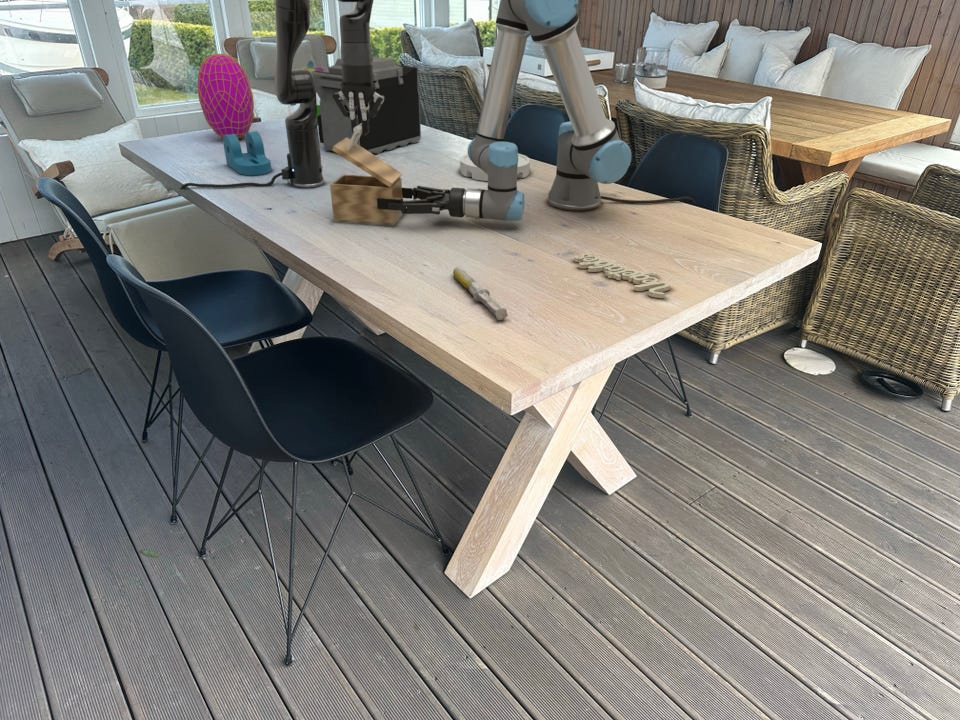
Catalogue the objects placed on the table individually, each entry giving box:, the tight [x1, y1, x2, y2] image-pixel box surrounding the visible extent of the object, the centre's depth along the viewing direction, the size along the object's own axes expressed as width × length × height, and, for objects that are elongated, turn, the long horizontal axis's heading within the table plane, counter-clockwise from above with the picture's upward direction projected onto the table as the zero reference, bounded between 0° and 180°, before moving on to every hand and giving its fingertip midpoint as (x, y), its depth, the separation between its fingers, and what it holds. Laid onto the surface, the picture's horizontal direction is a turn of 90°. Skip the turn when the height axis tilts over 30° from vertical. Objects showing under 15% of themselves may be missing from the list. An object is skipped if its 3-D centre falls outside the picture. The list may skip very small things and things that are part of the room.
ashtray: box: [459, 153, 531, 182], centre depth 228 cm, size 23×23×4 cm
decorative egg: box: [197, 53, 255, 140], centre depth 258 cm, size 19×19×30 cm
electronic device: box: [311, 56, 422, 155], centre depth 250 cm, size 37×22×30 cm, turn 144°
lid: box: [332, 123, 403, 187], centre depth 178 cm, size 17×10×8 cm
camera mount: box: [222, 131, 272, 176], centre depth 226 cm, size 18×10×10 cm, turn 35°
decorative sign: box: [574, 252, 671, 299], centre depth 155 cm, size 26×1×10 cm
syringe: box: [452, 266, 509, 321], centre depth 145 cm, size 25×4×3 cm, turn 21°
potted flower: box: [301, 59, 325, 125], centre depth 285 cm, size 9×8×25 cm
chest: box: [329, 174, 404, 227], centre depth 185 cm, size 17×10×10 cm, turn 80°
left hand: (360, 134), depth 176 cm, fingers closed on lid
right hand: (383, 197), depth 184 cm, fingers closed on chest, 10 cm apart
